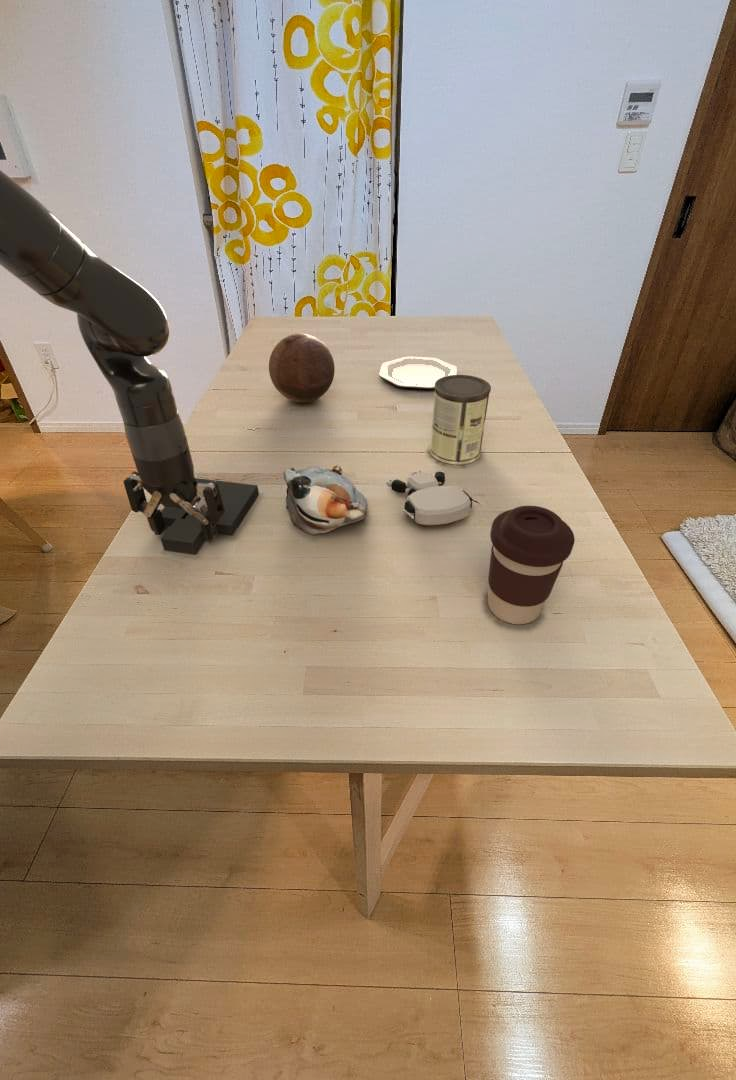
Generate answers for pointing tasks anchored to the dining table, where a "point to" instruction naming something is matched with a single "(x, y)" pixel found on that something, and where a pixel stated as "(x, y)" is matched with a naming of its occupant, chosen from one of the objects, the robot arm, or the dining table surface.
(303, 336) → the wooden sphere
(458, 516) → the robot toy
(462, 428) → the coffee can
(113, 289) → the robot arm
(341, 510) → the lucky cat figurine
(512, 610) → the coffee cup
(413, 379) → the plate
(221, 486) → the base pad
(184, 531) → the black pad
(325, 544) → the dining table surface
